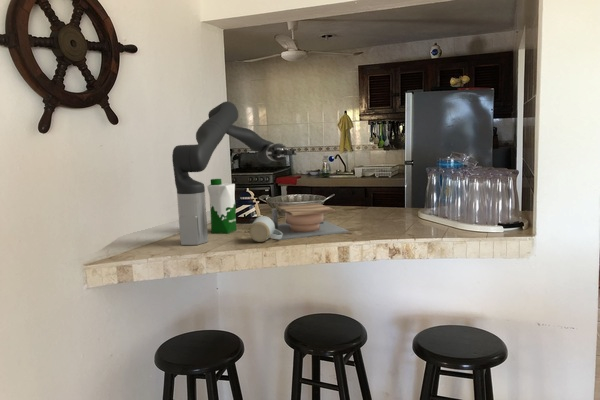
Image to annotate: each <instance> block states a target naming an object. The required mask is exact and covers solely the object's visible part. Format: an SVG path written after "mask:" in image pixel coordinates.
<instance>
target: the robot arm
mask: <svg viewBox="0 0 600 400" xmlns="http://www.w3.org/2000/svg"><path fill="white" fill-rule="evenodd" d="M238 118H239V110H238V108H237V106H236V104H234V103H233V102H231V101H223V102H221V103H220V104H218V105H216V106H215V107H213V108H212V109H211V110H209V111H208V119H207V120H205V121H204V122H202V124H201V125H200V126H198V128H197V129H196V132H195V140H196V143H197V144H179V145H175V146H174V147H173V150H172V154H171V155H172V157H171V158H172V160H171V161H172V167H173V175H174V184H175V189H176V196H177V198H176V199H177V212H178V213H177V214H178V226H179V238H180V239H179V240H180V245H181V246H196V245H197V246H199V245H201V244H205V243H208V242H209V237H208V236H209V234H208V219H207V206H206V203H207V202H206V192H205V191H206V187H205V184H204V183H203V182H201V181H198V180H195V179H194V178H193V177H191V176H190V174H189V173H200V172H203V171H205V169H206V168H207V167H208V165H209V162H210V160H211V158H212V155H213V153H214V152H215V150H216V149H217V147H218V146H219V144H220V143H221V142H222V140H223V139H224V137H225V135H228V136H230V137H232V138H233V139H236V140H238V141H239V142H241V143H243V145H245V146H246V147H247V148H249V149H250V150H251V151H253V152H257V153H256V159H257V160H258V161H259V162H260V163H262V164H270V163H271V162H283V161H285V159H287V157H288V156H297V148H290V149H289V148H288V147H287V146H286V145H285V144H283V143H274V142H272V141H270V140H267V139H264V138H263V137H261V136H260V135H259V134H258V133H256V132H255V131H254V130H252V129H250V128H247V127H242V126H241V127H240V126H237V125H234V123H235V122H237V121H238Z"/></svg>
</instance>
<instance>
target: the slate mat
mask: <svg viewBox="0 0 600 400" xmlns="http://www.w3.org/2000/svg"><path fill="white" fill-rule="evenodd" d="M319 225H320V229H319V230H317V231H312V232H293V231H291V230H290V224H288V223H286V222H285V223H278V228H277V229H276V230H278V231H280V232H282V234H283V235H282V238H281V239H278V241H283V240H291V239H292V240H293V239H300V238H309V237H311V238H312V237H317V236H319V237H320V236H327V235H337V234H345V233H346V234H347V233H349V231H350V230H348V229H346V228H343V227H342V226H338V225H336V224H334V223H332V222H329V221H327V220H324V219H323V224H319ZM273 234H274V233H273ZM275 235H277V234H275Z"/></svg>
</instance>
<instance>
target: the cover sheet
mask: <svg viewBox="0 0 600 400" xmlns="http://www.w3.org/2000/svg"><path fill="white" fill-rule="evenodd" d="M277 210H279V211H281V212H283V213H285V212H286V213H288V214H290V215H292V216H294V215H305V214H316V213H323V214H325V213H335V212H336V209H335V208H332V207H329V206H326V205H323V204H320V203H319V202H317V203H316V202H313V203H312V202H311V203H300V204H289V205H278V206H277Z"/></svg>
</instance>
